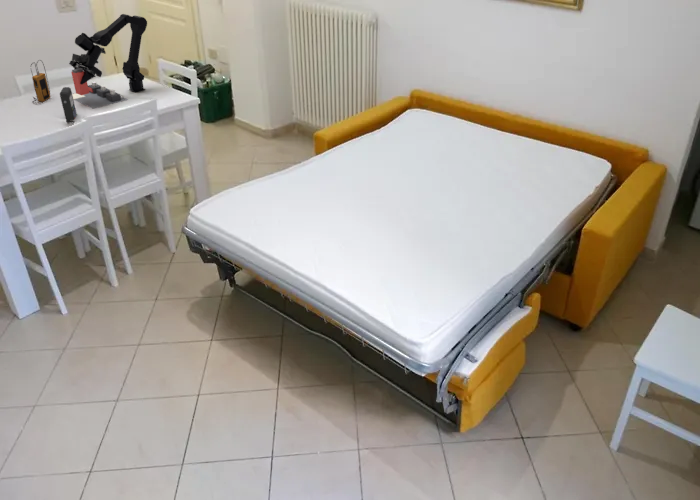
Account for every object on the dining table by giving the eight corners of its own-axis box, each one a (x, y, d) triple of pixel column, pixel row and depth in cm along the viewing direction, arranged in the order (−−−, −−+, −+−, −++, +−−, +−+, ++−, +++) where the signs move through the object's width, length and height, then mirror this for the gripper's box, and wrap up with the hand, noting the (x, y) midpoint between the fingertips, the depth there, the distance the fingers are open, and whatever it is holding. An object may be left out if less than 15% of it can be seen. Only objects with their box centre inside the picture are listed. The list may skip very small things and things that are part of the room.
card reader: (75, 123, 283) (67, 92, 275) (66, 123, 282) (58, 93, 274) (78, 116, 290) (71, 86, 282) (69, 116, 290) (62, 86, 281)
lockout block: (84, 91, 301) (78, 67, 294) (89, 93, 299) (84, 69, 292) (76, 93, 298) (70, 69, 291) (81, 95, 296) (76, 71, 289)
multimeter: (37, 93, 315) (27, 56, 304) (54, 95, 314) (45, 57, 303) (21, 103, 303) (10, 64, 292) (39, 104, 302) (28, 65, 291)
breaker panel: (100, 89, 324) (98, 78, 320) (129, 102, 309) (126, 90, 306) (61, 99, 309) (58, 87, 306) (89, 112, 295) (86, 100, 291)
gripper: (68, 43, 293) (53, 70, 291) (91, 50, 285) (77, 78, 283) (85, 56, 303) (71, 82, 301) (108, 63, 295) (94, 90, 293)
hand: (77, 83), depth 294 cm, fingers closed on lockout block, 4 cm apart
